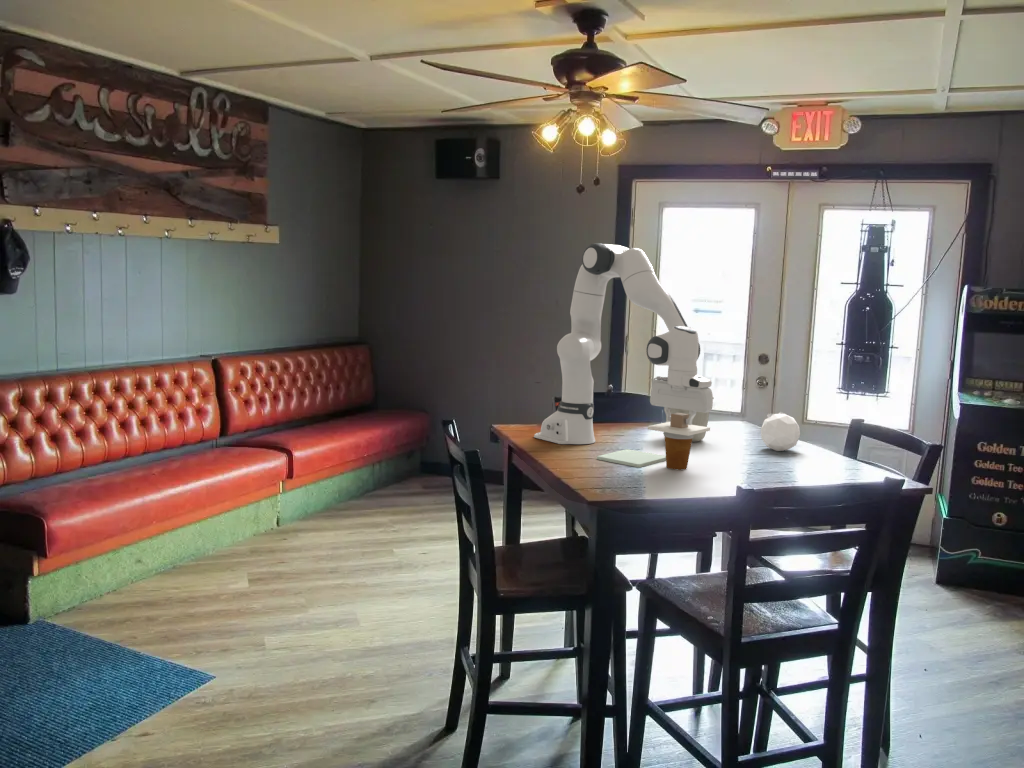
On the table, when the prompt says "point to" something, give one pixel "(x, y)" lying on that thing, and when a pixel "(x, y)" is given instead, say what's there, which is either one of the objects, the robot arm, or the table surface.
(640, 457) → the mat
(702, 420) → the canister
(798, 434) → the geodesic sphere
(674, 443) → the disposable coffee cup
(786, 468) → the table surface
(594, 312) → the robot arm
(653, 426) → the cover
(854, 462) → the table surface
